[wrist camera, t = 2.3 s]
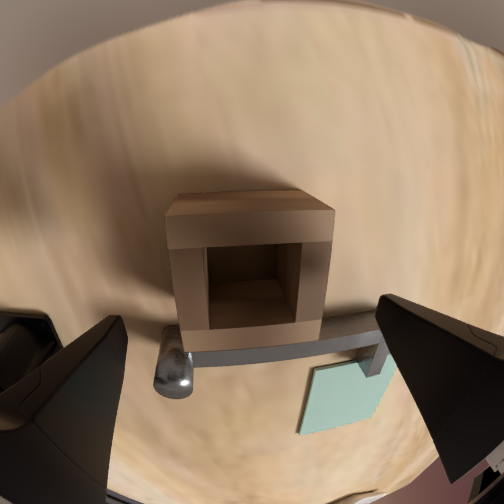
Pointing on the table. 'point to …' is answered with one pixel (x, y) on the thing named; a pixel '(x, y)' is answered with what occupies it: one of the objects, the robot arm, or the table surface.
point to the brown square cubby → (254, 291)
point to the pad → (343, 395)
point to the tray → (362, 498)
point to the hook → (271, 352)
